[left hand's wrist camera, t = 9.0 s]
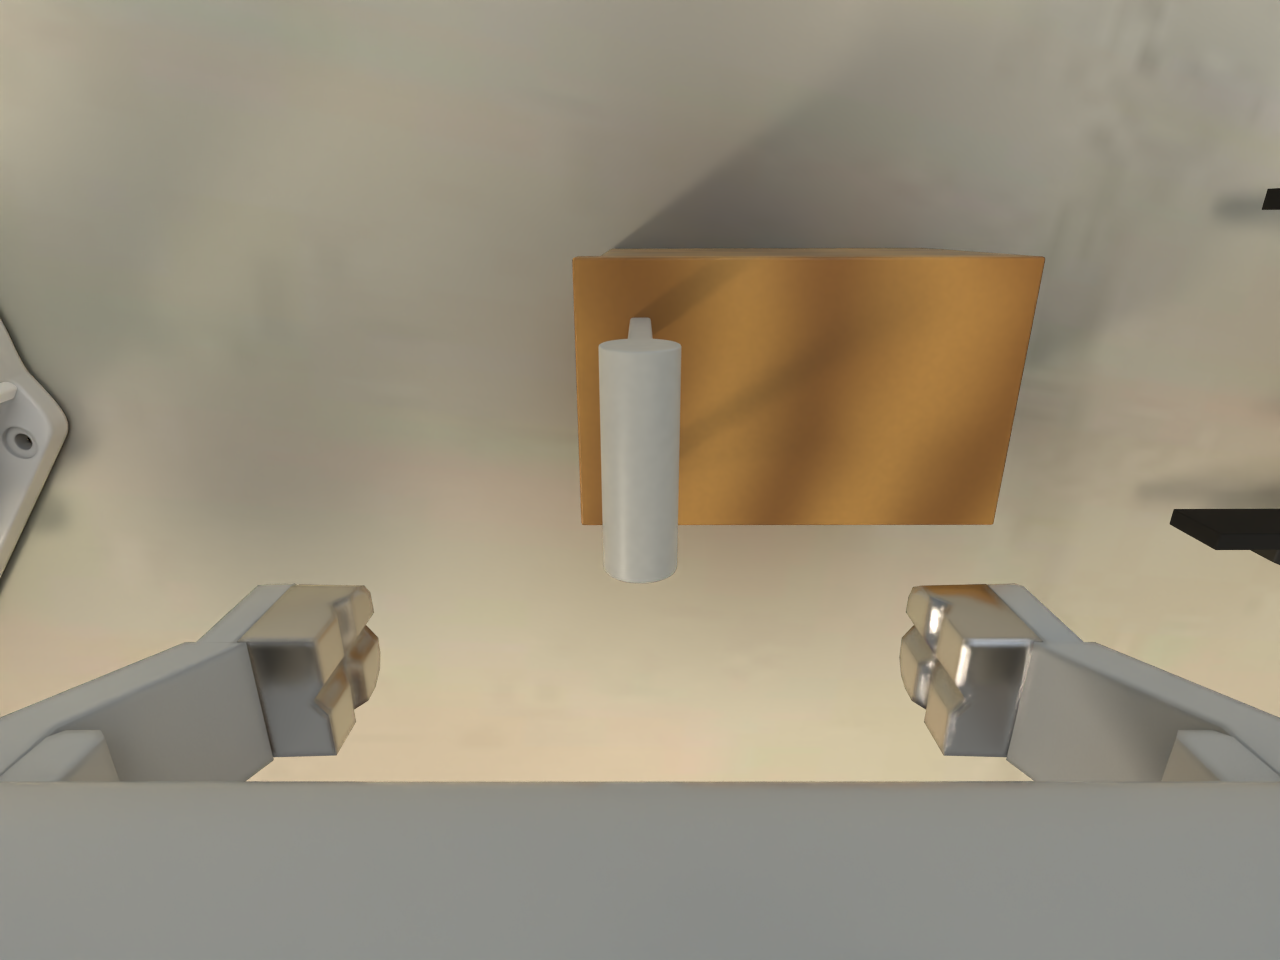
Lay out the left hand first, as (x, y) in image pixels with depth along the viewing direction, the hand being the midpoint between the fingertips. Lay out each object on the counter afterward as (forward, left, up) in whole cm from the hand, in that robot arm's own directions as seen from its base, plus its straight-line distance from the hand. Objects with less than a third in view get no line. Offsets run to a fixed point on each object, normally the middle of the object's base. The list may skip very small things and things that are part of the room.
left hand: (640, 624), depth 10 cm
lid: (+2, -5, -16) cm, 17 cm away
